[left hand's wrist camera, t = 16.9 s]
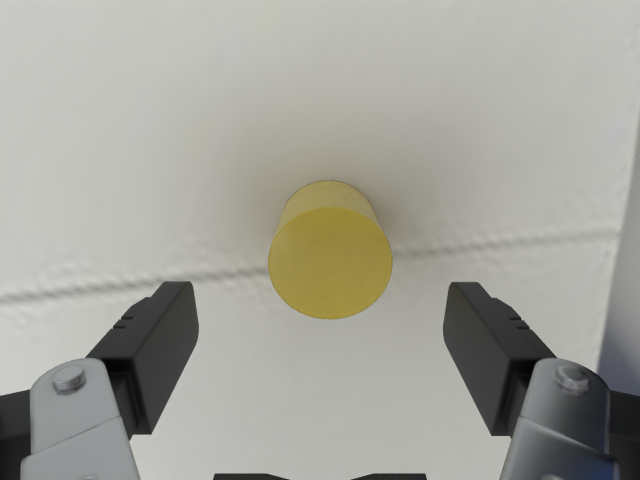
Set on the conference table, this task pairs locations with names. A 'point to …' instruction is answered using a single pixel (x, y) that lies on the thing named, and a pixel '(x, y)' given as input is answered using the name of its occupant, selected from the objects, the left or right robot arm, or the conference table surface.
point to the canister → (329, 252)
